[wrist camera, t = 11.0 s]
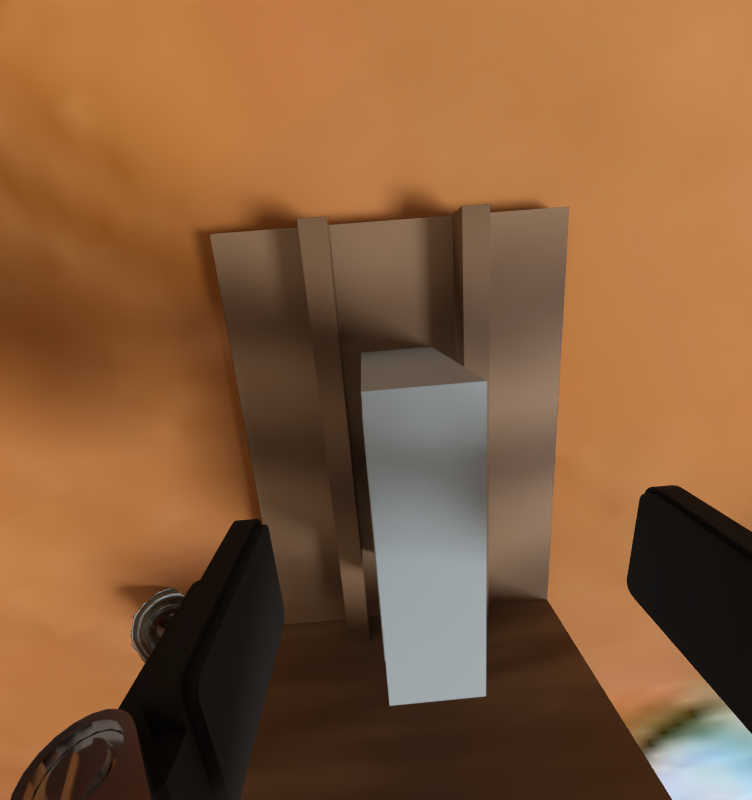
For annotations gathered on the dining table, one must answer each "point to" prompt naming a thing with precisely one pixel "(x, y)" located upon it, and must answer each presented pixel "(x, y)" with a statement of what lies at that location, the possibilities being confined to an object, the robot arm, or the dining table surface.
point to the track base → (351, 514)
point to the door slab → (428, 520)
